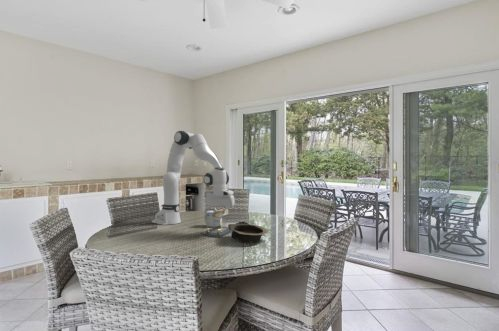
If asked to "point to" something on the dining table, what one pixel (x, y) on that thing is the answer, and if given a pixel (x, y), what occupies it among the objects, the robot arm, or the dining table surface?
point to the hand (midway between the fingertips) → (220, 212)
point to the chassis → (217, 231)
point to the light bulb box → (212, 220)
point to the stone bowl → (247, 232)
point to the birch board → (219, 213)
